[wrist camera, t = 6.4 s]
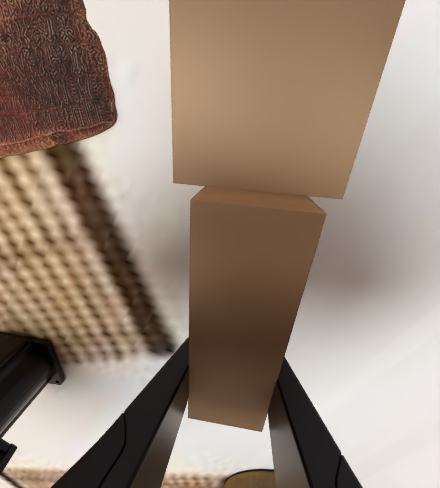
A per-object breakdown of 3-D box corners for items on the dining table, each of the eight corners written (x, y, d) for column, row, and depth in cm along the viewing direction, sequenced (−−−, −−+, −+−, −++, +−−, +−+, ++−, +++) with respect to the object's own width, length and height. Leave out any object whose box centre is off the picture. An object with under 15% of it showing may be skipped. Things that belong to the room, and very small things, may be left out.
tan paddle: (278, 365, 11) (287, 436, 8) (184, 350, 12) (164, 413, 9) (457, -262, 4) (967, -1259, 1) (183, -242, 4) (66, -926, 2)
